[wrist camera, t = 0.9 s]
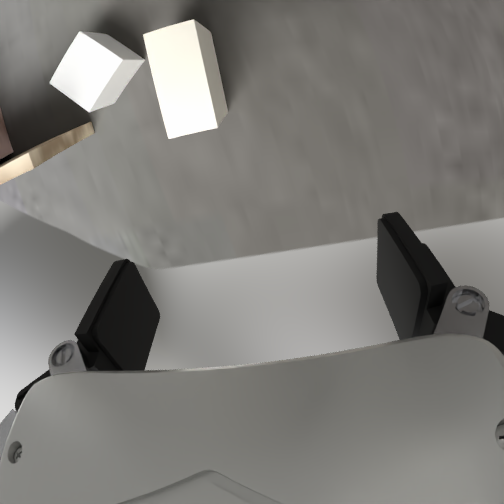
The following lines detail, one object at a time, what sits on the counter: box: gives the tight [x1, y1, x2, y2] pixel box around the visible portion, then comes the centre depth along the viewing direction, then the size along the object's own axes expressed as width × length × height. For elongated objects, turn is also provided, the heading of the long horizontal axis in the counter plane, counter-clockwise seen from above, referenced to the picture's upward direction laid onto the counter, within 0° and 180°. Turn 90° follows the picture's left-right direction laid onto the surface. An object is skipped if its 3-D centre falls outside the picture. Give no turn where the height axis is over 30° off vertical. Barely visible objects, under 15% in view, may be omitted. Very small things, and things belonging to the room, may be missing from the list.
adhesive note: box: [50, 31, 145, 112], centre depth 24 cm, size 6×6×6 cm
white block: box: [143, 19, 228, 139], centre depth 24 cm, size 9×4×9 cm, turn 10°
